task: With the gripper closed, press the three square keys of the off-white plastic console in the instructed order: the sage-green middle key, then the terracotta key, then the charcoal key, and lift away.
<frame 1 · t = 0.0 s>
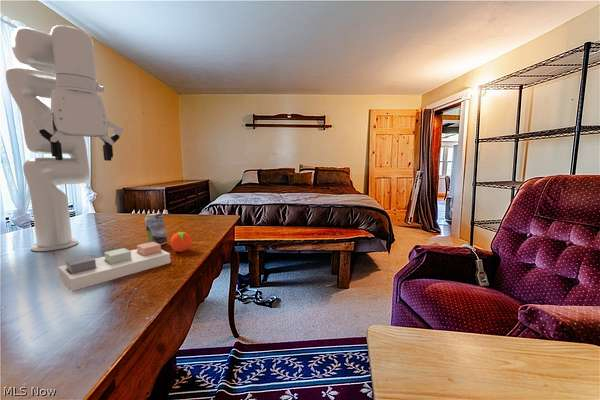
hand: (84, 160, 66), 31 cm above the table, fingers open, 9 cm apart
clementine: (181, 252, 94), on the table
beverage can: (157, 245, 101), on the table
sage button: (119, 269, 78), resting on console, slide at 0.0 cm
charcoal button: (82, 279, 72), resting on console, slide at 0.0 cm
console: (119, 269, 78), on the table
terracotta button: (149, 261, 85), resting on console, slide at 0.0 cm
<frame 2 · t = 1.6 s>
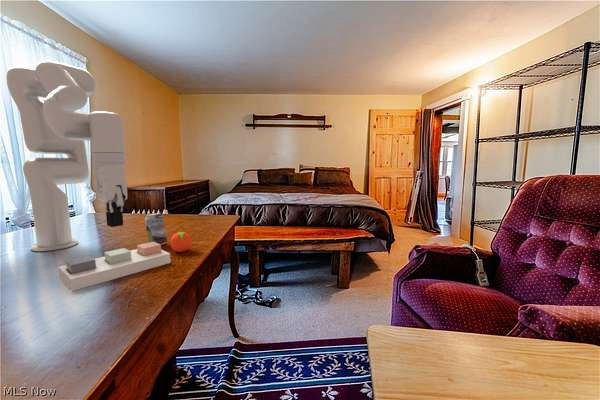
hand: (115, 225, 77), 13 cm above the table, fingers closed
nothing on the table moved.
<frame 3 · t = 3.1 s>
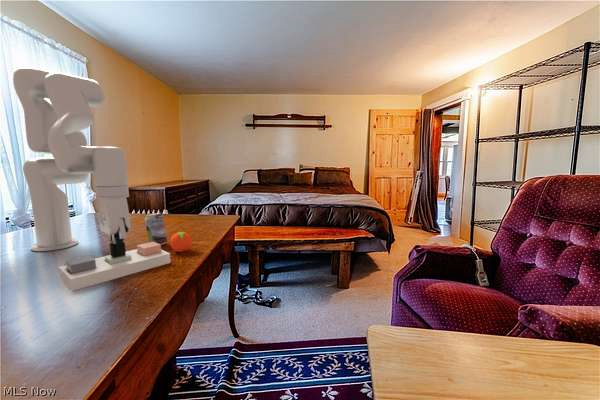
hand: (118, 255, 78), 4 cm above the table, fingers closed
sage button: (119, 273, 79), resting on console, slide at 1.2 cm, touching gripper
everything else where it was.
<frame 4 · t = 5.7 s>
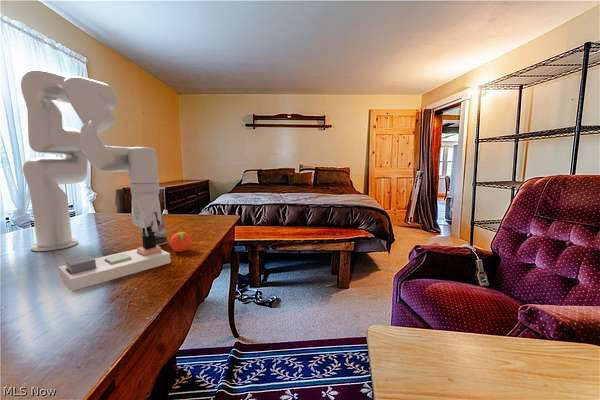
hand: (149, 247, 84), 4 cm above the table, fingers closed
sage button: (119, 274, 79), resting on console, slide at 1.6 cm
terracotta button: (150, 263, 85), resting on console, slide at 0.9 cm, touching gripper
everything else where it was.
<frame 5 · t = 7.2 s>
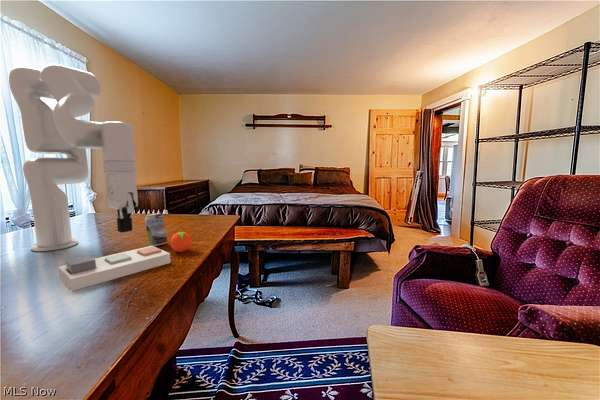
hand: (125, 231, 79), 11 cm above the table, fingers closed
terracotta button: (150, 266, 85), resting on console, slide at 1.6 cm
everything else where it was.
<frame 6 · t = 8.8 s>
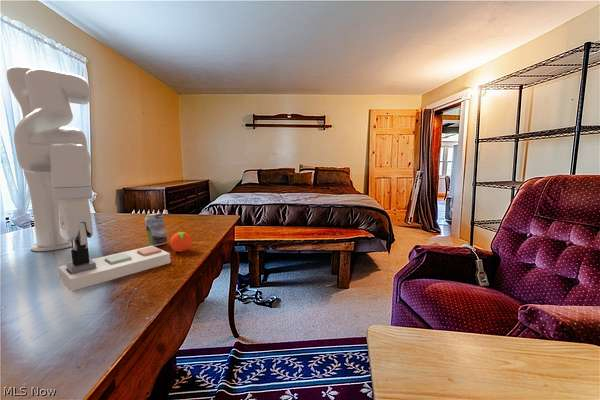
hand: (81, 263, 71), 4 cm above the table, fingers closed
charcoal button: (82, 282, 72), resting on console, slide at 0.9 cm, touching gripper
everything else where it was.
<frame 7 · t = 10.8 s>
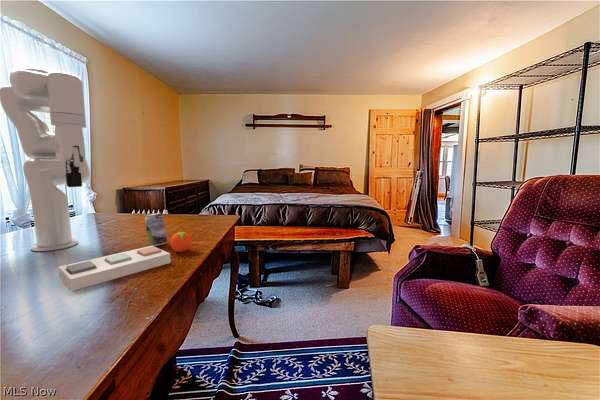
hand: (74, 186, 79), 24 cm above the table, fingers closed
charcoal button: (83, 284, 72), resting on console, slide at 1.6 cm
everything else where it was.
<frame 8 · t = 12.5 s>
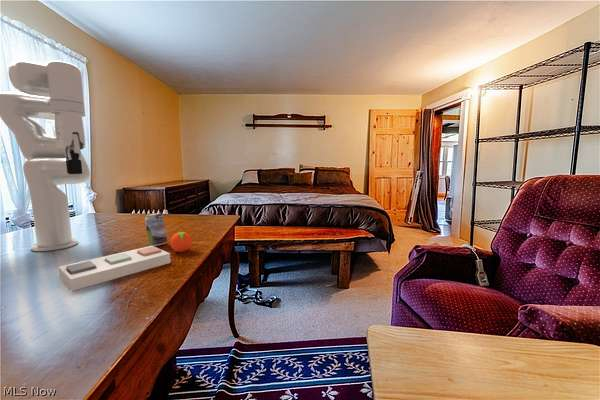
hand: (74, 173, 80), 27 cm above the table, fingers closed
nothing on the table moved.
at the end: sage button slide at 1.6 cm; terracotta button slide at 1.6 cm; charcoal button slide at 1.6 cm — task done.
